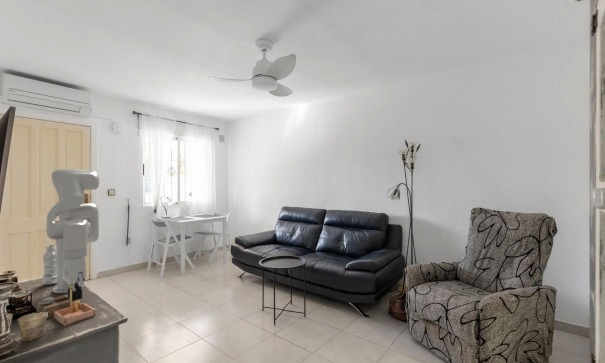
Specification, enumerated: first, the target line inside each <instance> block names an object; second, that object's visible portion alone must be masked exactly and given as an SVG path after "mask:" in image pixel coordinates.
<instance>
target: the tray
mask: <svg viewBox="0 0 605 363" xmlns="http://www.w3.org/2000/svg"><path fill="white" fill-rule="evenodd" d="M92 316H93V317H95V316H96V308H94V307H92V306H91V305H89V304H86V303H85V302H80V311H78V312H75V313H70V307H68V308H65V309H62V310H58V311H55V312H54V316H53V319H54V320H56V321H57V322H59V323H60V324H61V325H62V326H64V327H66V326H70V325H72V324H75V323H78V322H81V321H84V320H86V319H87V320H88V319H89V318H92Z"/></svg>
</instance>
